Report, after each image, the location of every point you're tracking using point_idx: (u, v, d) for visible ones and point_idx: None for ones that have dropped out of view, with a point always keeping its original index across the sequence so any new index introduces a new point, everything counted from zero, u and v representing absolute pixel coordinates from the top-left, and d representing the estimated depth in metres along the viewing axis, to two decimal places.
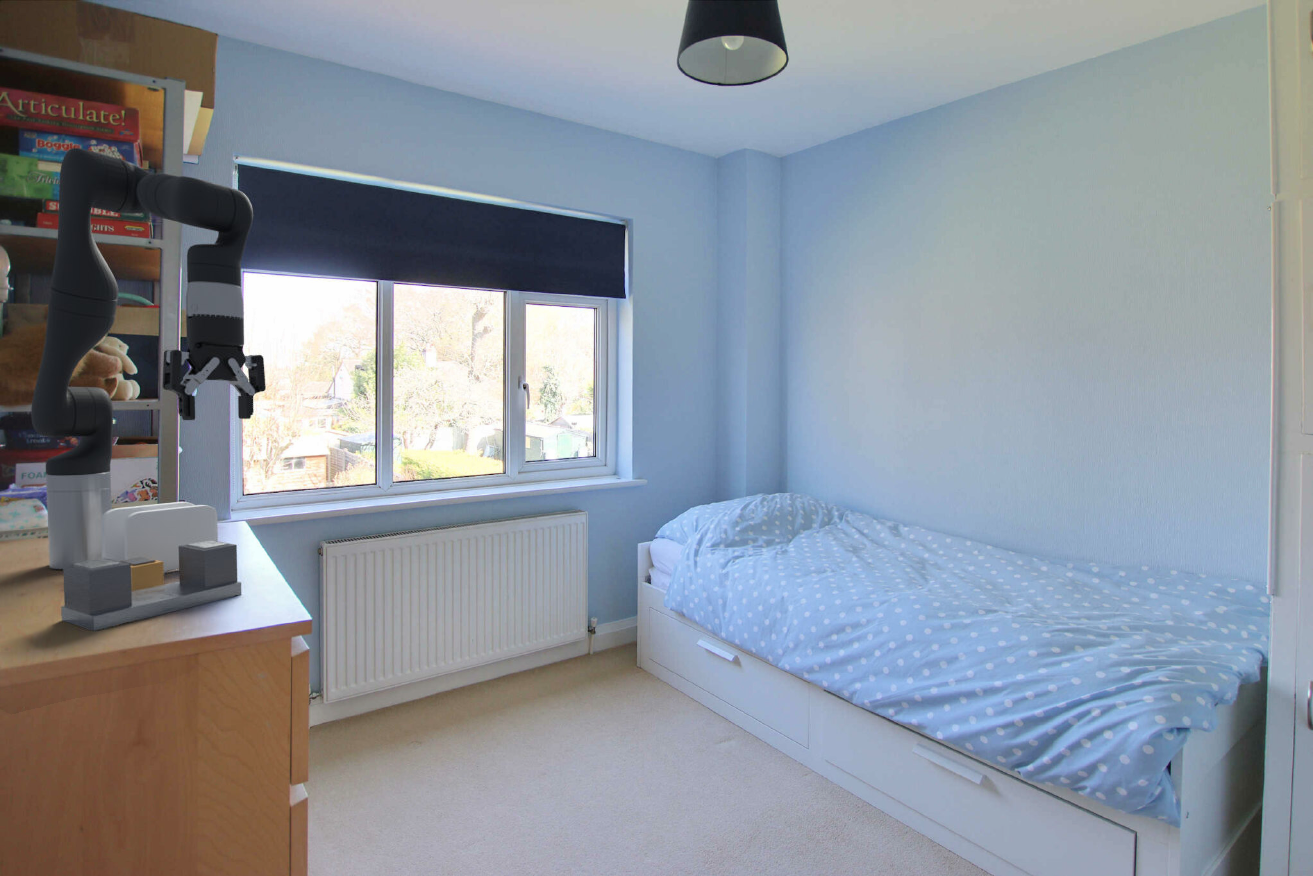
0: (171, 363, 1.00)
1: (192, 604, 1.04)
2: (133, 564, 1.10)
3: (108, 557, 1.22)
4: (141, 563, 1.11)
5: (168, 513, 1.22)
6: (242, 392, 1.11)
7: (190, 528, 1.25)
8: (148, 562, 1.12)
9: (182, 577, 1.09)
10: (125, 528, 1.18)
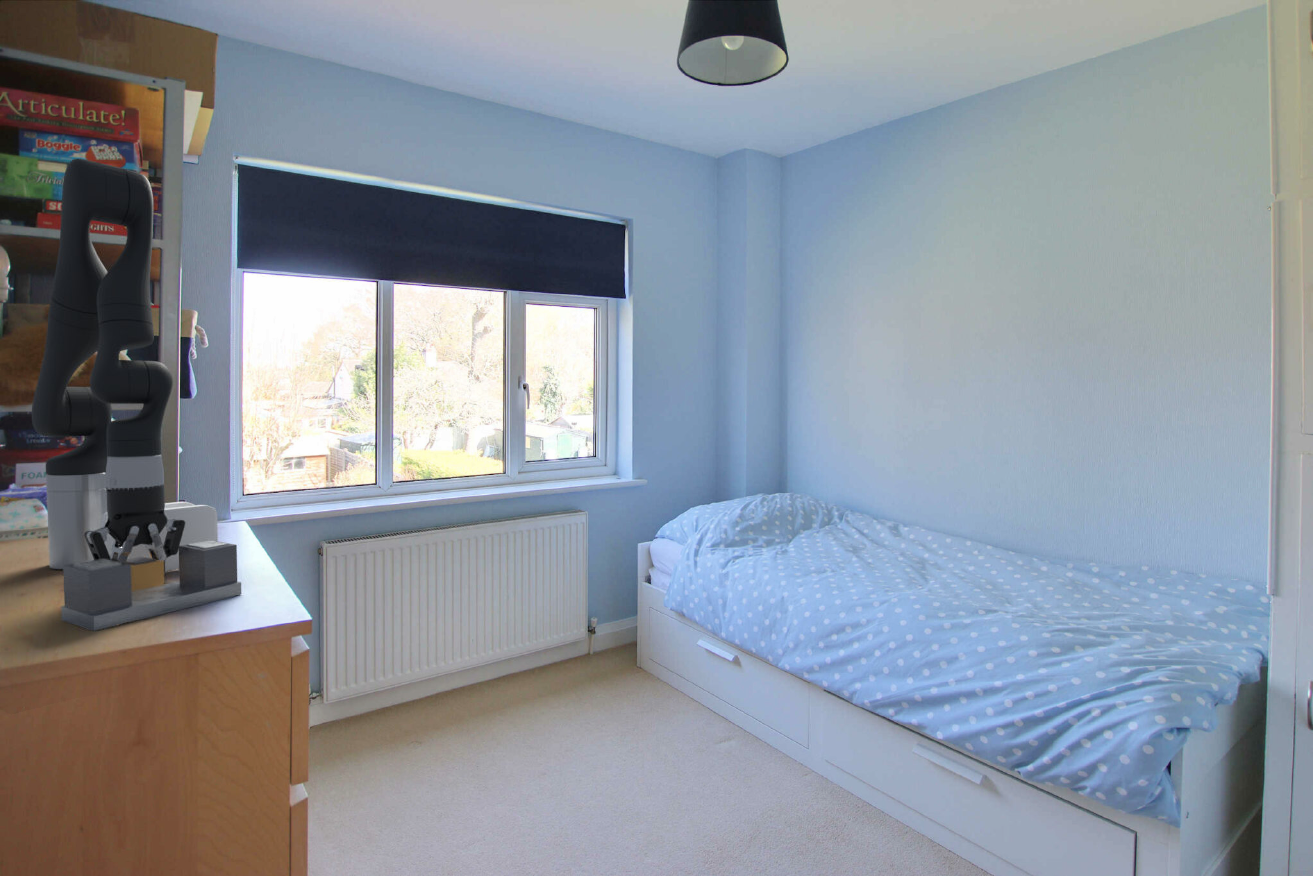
0: (94, 546, 1.06)
1: (192, 604, 1.04)
2: (133, 563, 1.10)
3: None
4: (141, 562, 1.11)
5: (168, 513, 1.22)
6: (153, 558, 1.15)
7: (190, 528, 1.25)
8: (148, 561, 1.12)
9: (182, 577, 1.09)
10: None
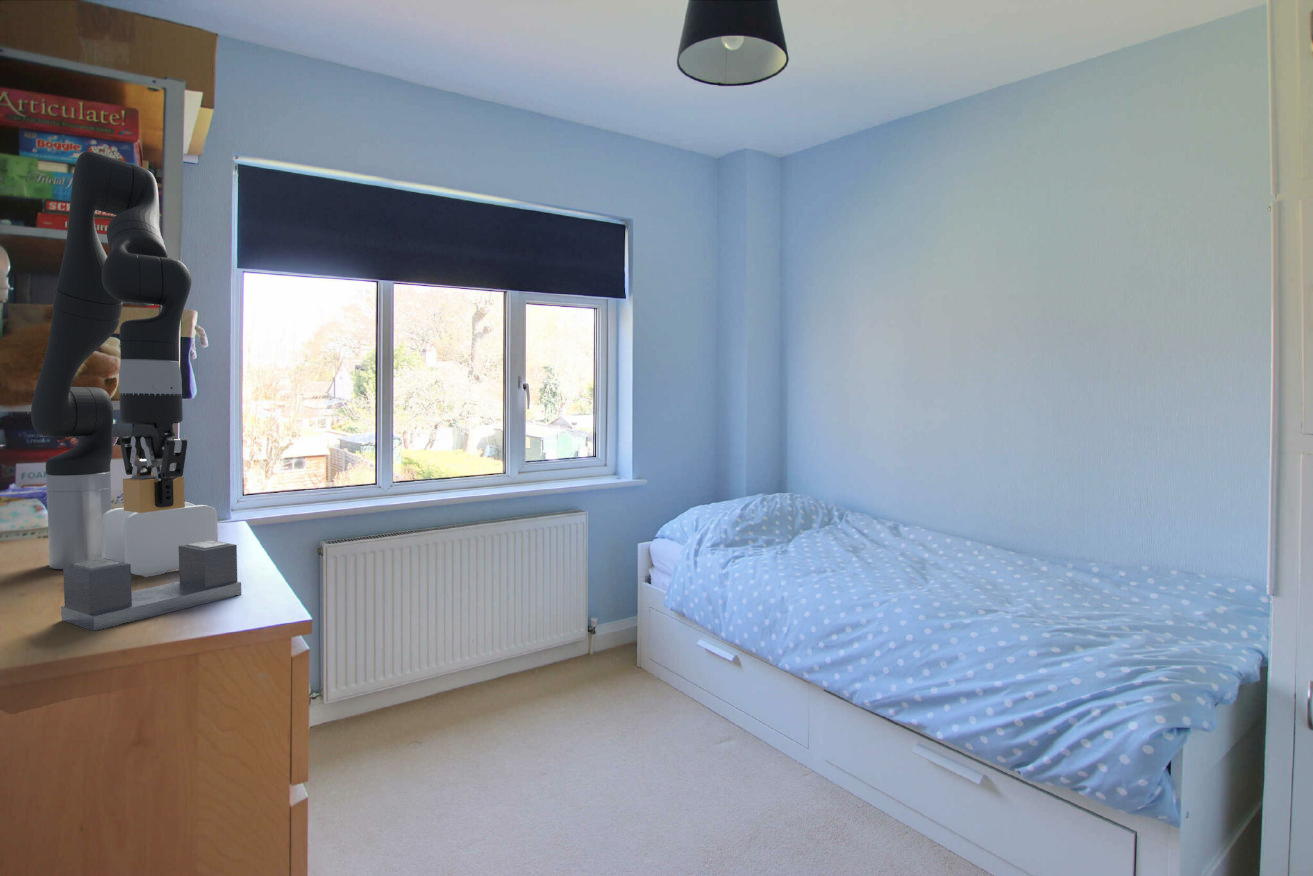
0: None
1: (192, 604, 1.04)
2: None
3: (108, 557, 1.22)
4: (135, 477, 1.01)
5: (168, 513, 1.22)
6: None
7: (190, 528, 1.25)
8: (138, 478, 1.00)
9: (182, 577, 1.09)
10: (125, 528, 1.18)
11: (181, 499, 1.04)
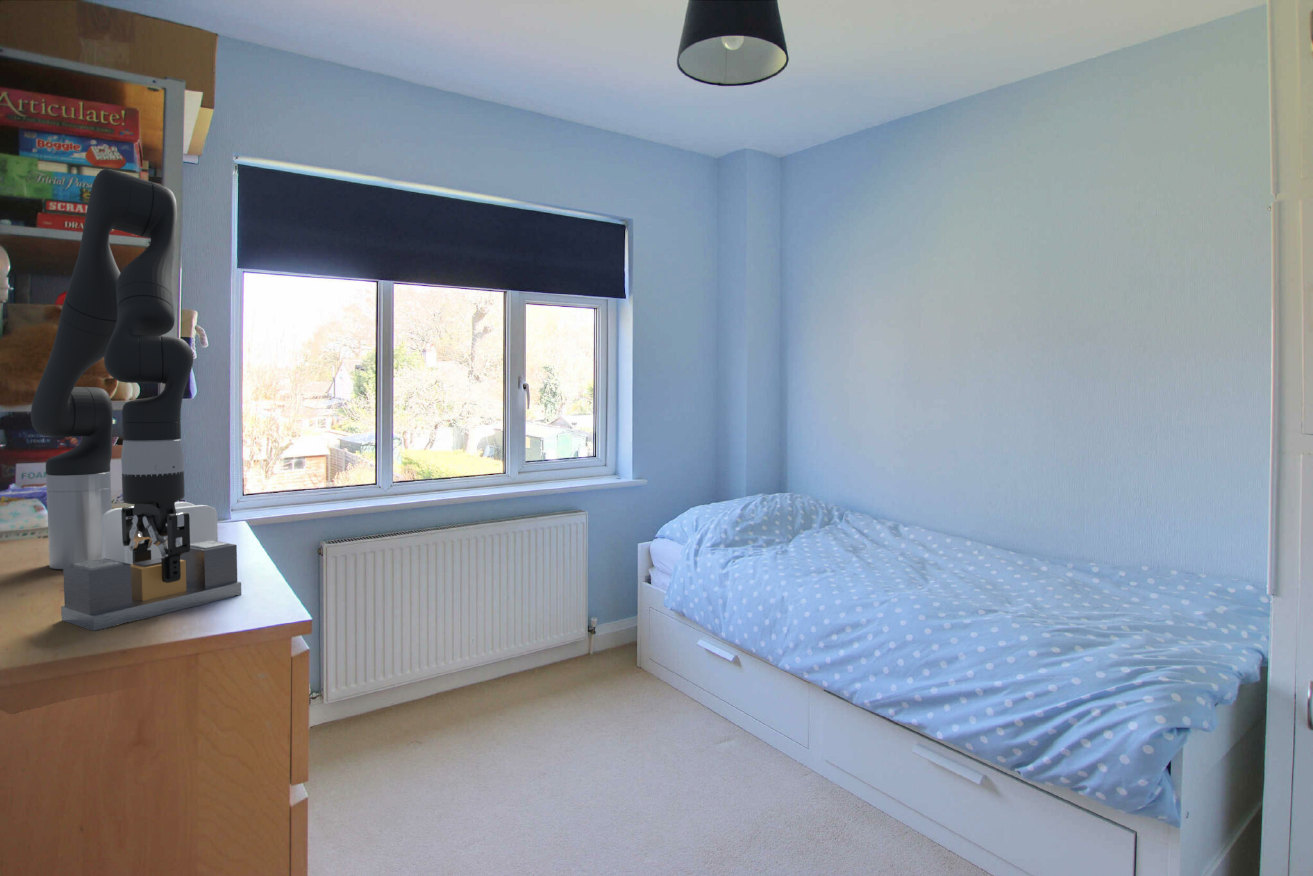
0: None
1: (192, 604, 1.04)
2: (137, 563, 1.02)
3: (108, 557, 1.22)
4: (138, 564, 1.02)
5: None
6: None
7: (190, 528, 1.25)
8: (140, 565, 1.01)
9: None
10: None
11: (183, 583, 1.05)
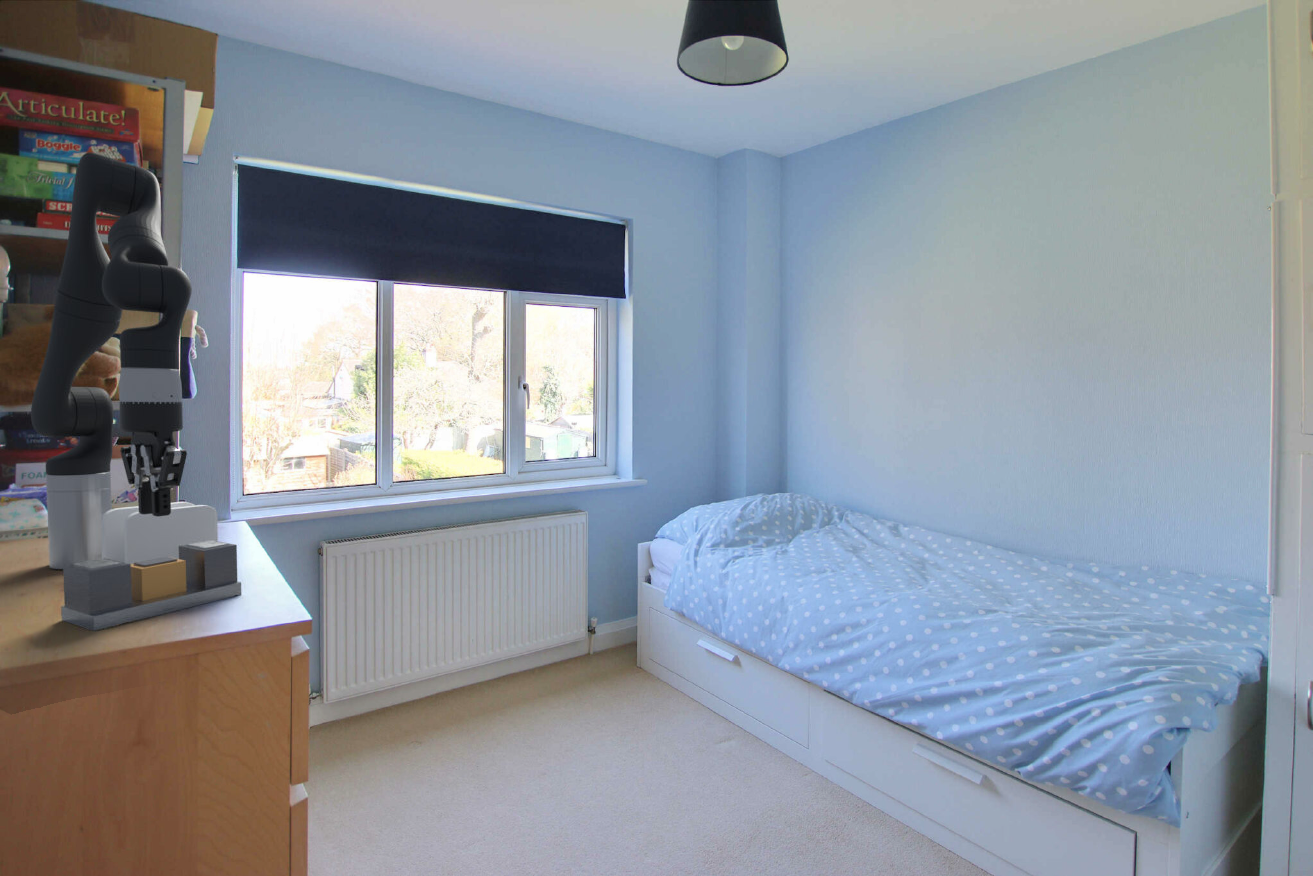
0: None
1: (192, 604, 1.04)
2: (137, 563, 1.02)
3: (108, 557, 1.22)
4: (138, 564, 1.02)
5: None
6: None
7: (190, 528, 1.25)
8: (140, 565, 1.01)
9: None
10: (125, 528, 1.18)
11: (183, 583, 1.05)
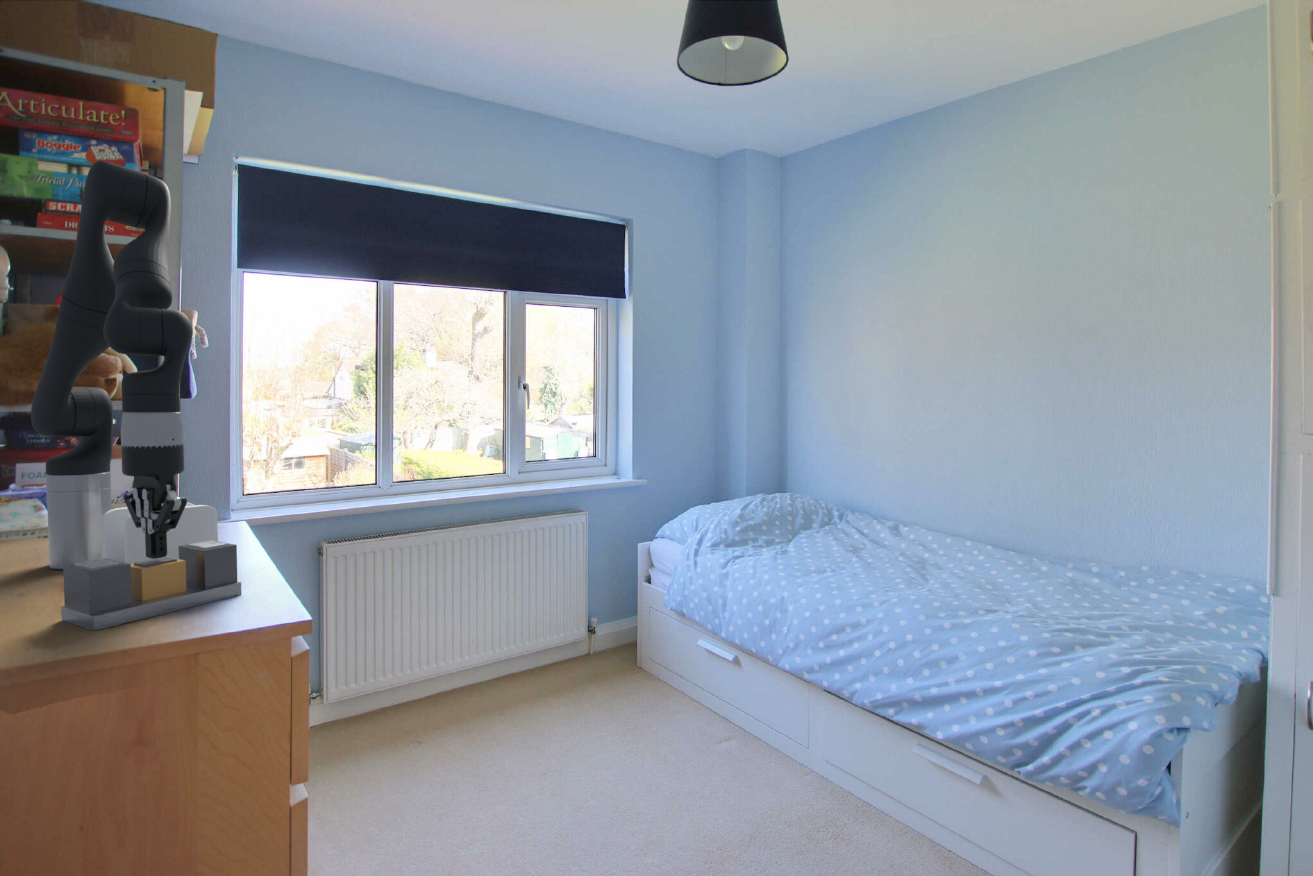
0: None
1: (192, 604, 1.04)
2: (137, 563, 1.02)
3: (108, 557, 1.22)
4: (138, 564, 1.02)
5: None
6: None
7: (190, 528, 1.25)
8: (140, 565, 1.01)
9: None
10: (125, 528, 1.18)
11: (183, 583, 1.05)
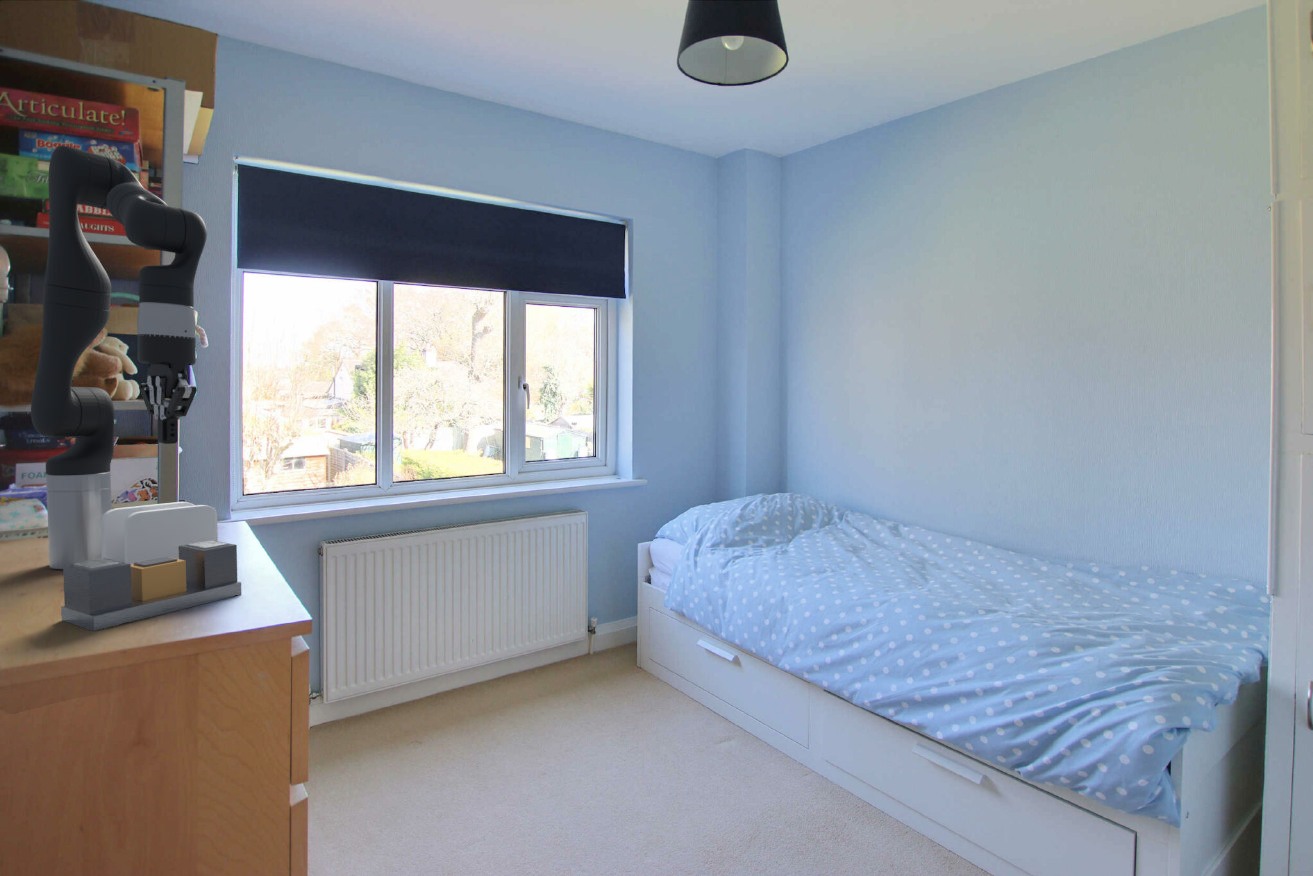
0: None
1: (192, 604, 1.04)
2: (137, 563, 1.02)
3: (108, 557, 1.22)
4: (138, 564, 1.02)
5: (168, 513, 1.22)
6: None
7: (190, 528, 1.25)
8: (140, 565, 1.01)
9: None
10: (125, 528, 1.18)
11: (183, 583, 1.05)
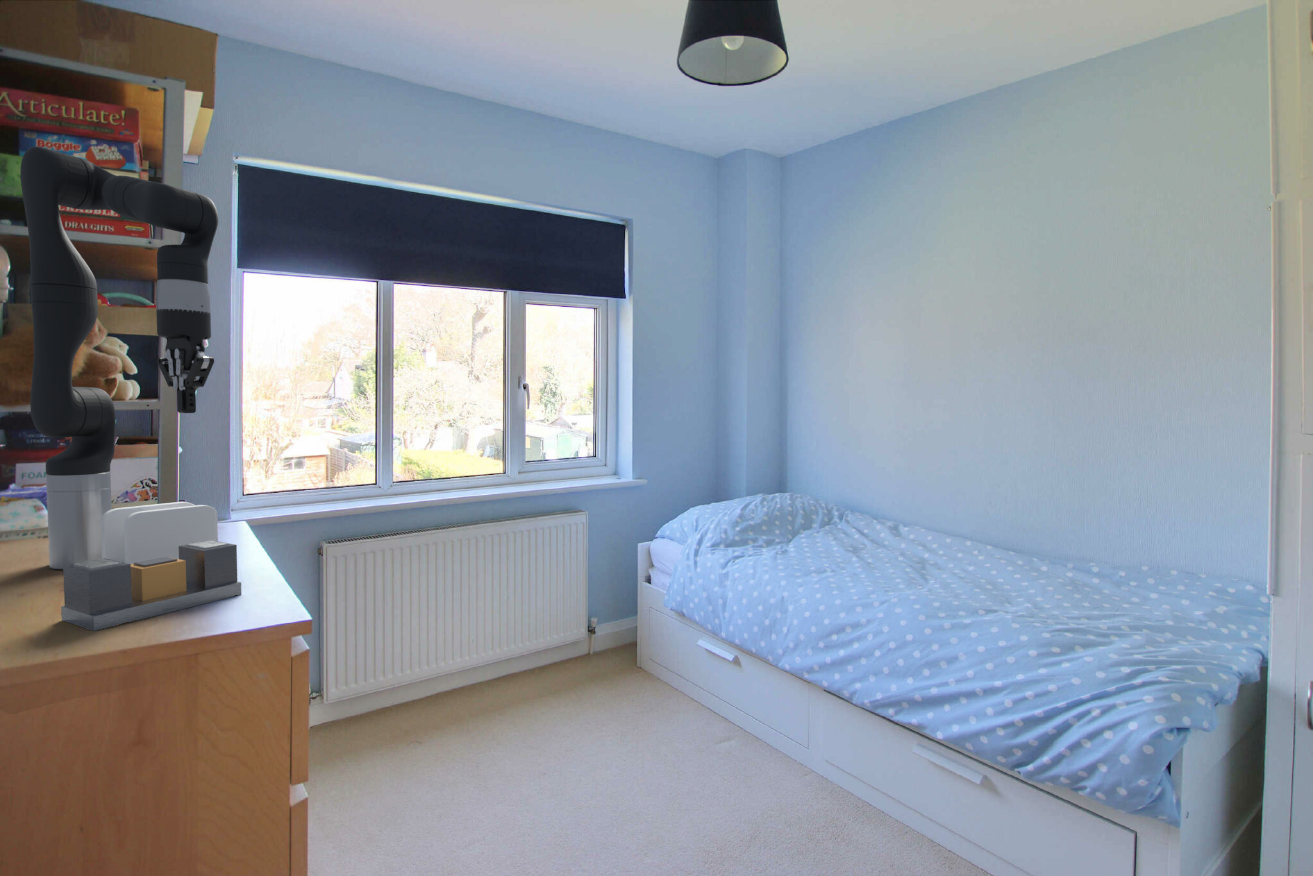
0: None
1: (192, 604, 1.04)
2: (137, 563, 1.02)
3: (108, 557, 1.22)
4: (138, 564, 1.02)
5: (168, 513, 1.22)
6: None
7: (190, 528, 1.25)
8: (140, 565, 1.01)
9: None
10: (125, 528, 1.18)
11: (183, 583, 1.05)
